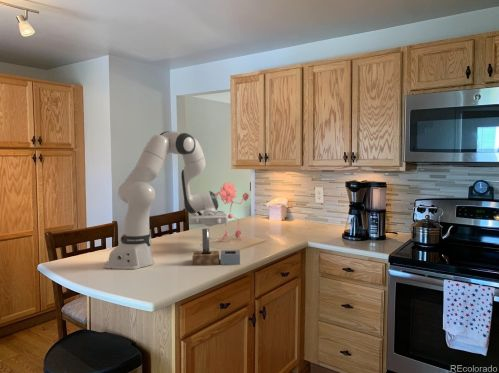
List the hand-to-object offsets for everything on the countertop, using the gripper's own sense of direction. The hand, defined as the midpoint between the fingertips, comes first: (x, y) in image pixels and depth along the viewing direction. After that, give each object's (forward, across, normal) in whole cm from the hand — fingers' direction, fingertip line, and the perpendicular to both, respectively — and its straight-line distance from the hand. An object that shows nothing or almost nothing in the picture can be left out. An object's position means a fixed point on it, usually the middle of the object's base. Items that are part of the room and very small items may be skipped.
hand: (207, 222), depth 194 cm
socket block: (+12, +11, +17) cm, 24 cm away
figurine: (-38, +9, +18) cm, 43 cm away
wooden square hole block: (+12, 0, +17) cm, 21 cm away
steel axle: (+12, 0, +17) cm, 21 cm away
